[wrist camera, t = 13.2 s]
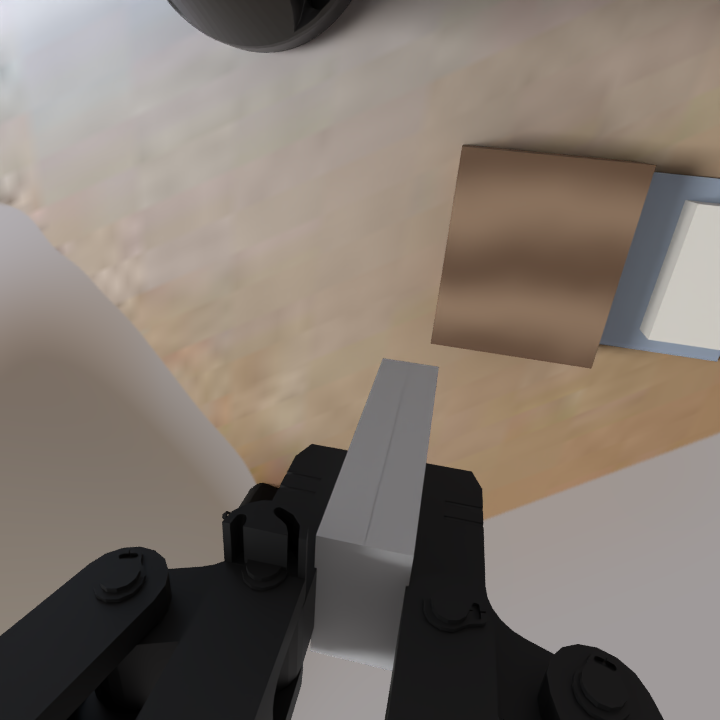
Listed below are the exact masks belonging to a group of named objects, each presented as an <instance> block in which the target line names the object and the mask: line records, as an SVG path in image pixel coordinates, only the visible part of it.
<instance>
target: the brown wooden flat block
mask: <svg viewBox="0 0 720 720" xmlns="http://www.w3.org/2000/svg"><path fill="white" fill-rule="evenodd" d="M655 168H656V165H651V164H645V163H640V162H634V161H623V160H613V159H603V158H593V157H582V156H572V155H562V154H552V153H541V152H531V151H521V150H511V149H501V148H490V147H480V146H470V145H463V146H462V151H461V158H460V164H459V170H458V176H457V183H456V189H455V195H454V201H453V208H452V214H451V220H450V226H449V233H448V239H447V245H446V251H445V258H444V264H443V270H442V277H441V283H440V289H439V295H438V302H437V308H436V314H435V320H434V327H433V333H432V339H431V344H437V345H444V346H450V347H457V348H463V349H469V350H476V351H482V352H489V353H495V354H502V355H508V356H514V357H521V358H527V359H534V360H540V361H547V362H553V363H559V364H566V365H572V366H579V367H585V368H592V365H593V362H594V359H595V356H596V352H597V349H598V346H599V343H600V340H601V337H602V334H603V330H604V327H605V324H606V321H607V318H608V315H609V312H610V309H611V305H612V302H613V299H614V296H615V293H616V290H617V287H618V284H619V280H620V277H621V274H622V271H623V268H624V265H625V262H626V259H627V255H628V252H629V249H630V246H631V243H632V240H633V237H634V233H635V230H636V227H637V224H638V221H639V218H640V215H641V212H642V208H643V205H644V202H645V199H646V196H647V193H648V190H649V187H650V183H651V180H652V177H653V174H654V171H655Z"/></svg>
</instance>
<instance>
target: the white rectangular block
mask: <svg viewBox="0 0 720 720" xmlns="http://www.w3.org/2000/svg"><path fill="white" fill-rule="evenodd" d="M640 331H641V332H642V333H643V334H644V335H645V336H646V338H647V339H648V340H654V341H661V342H668V343H675V344H681V345H688V346H695V347H702V348H709V349H715V350H720V204H718V203H709V202H700V201H691V200H685V203H684V205H683V208H682V211H681V214H680V217H679V219H678V222H677V225H676V228H675V231H674V233H673V236H672V239H671V242H670V245H669V247H668V250H667V253H666V256H665V259H664V262H663V264H662V267H661V270H660V273H659V276H658V278H657V281H656V284H655V287H654V290H653V292H652V295H651V298H650V301H649V304H648V306H647V309H646V312H645V315H644V318H643V320H642V323H641V326H640Z"/></svg>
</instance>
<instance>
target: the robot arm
mask: <svg viewBox="0 0 720 720" xmlns="http://www.w3.org/2000/svg"><path fill="white" fill-rule="evenodd" d="M167 1H168V2H169V4H170V5H171V6H172V7H173V8H174V9H175V10H176V11H177V12H178V13H179V14H180V15H181V16H182V17H183V18H184V19H185V20H186V21H187V22H189V23H190V24H191V25H192V26H194V27H195V28H197V29H198V30H199V31H201V32H202V33H204V34H206V35H207V36H209V37H211V38H213V39H215V40H217V41H220V42H222V43H225V44H228V45H230V46H233V47H236V48H239V49H242V50H247V51H251V52H262V53H269V52H279V51H284V50H288V49H292V48H295V47H297V46H300V45H302V44H304V43H306V42H308V41H310V40H312V39H313V38H315V37H316V36H318V35H319V34H321V33H322V32H323V31H324V30H326V29H327V28H328V27H329V26H330V25H331V24H332V23H333V22H334V21H335V20H336V19H337V18H338V17H339V16H340V15H341V14H342V12H343V11H344V10H345V9H346V7H347V6H348V4H349V3H350V1H351V0H167ZM438 368H439V367H437V366H430V365H424V364H417V363H410V362H404V361H397V360H391V359H384V358H383V360H382V362H381V365H380V368H379V370H378V373H377V376H376V378H375V381H374V384H373V386H372V389H371V391H370V394H369V397H368V399H367V402H366V405H365V407H364V410H363V413H362V415H361V418H360V420H359V423H358V426H357V428H356V431H355V434H354V436H353V439H352V442H351V444H350V447H349V450H348V451H347V450H342V449H337V448H331V447H326V446H320V445H315V444H311V445H310V446H309V447H307V448H306V449H304V450H303V451H302V452H300V453H299V454H298V455H296V456H295V458H294V460H293V462H292V464H291V466H290V468H289V470H288V471H287V475H285V477H284V479H283V481H282V483H281V485H280V488H278V490H277V492H276V494H275V496H274V498H273V500H272V501H269V500H261V501H257V502H252V503H247V504H245V505H243V506H241V507H239V508H238V509H236V510H234V511H232V512H231V513H230V514H229V515H228V516H227V517H226V519H225V520H224V521H223V522H222V525H223V542H224V559H225V561H224V562H220V563H217V564H215V565H209V566H203V567H192V568H178V569H177V568H176V569H168V568H167V564H166V561H165V559H164V558H163V557H162V556H161V555H160V554H158V553H157V552H156V551H154V550H151V549H147V548H143V547H130V548H121V549H118V550H116V551H112V552H109V553H107V554H104V555H103V556H101V557H100V558H98V559H97V560H95V561H93V562H92V563H90V564H89V565H87V566H86V567H85V568H84V569H82V570H81V571H80V572H79V573H78V574H76V575H75V576H74V577H73V578H71V579H70V580H69V581H68V582H66V583H65V584H64V585H63V586H61V587H60V588H59V589H58V590H56V591H55V592H54V593H53V594H52V595H50V596H49V597H48V598H47V599H45V600H44V601H43V602H42V603H41V604H39V605H38V606H37V607H36V608H35V609H33V610H32V611H31V612H29V613H28V614H27V615H26V616H25V617H23V618H22V619H21V620H19V621H18V622H17V623H16V624H15V625H13V626H12V627H11V628H10V629H8V630H7V631H6V632H5V633H3V634H2V635H1V636H0V720H291V717H292V714H293V711H294V707H295V704H296V700H297V697H298V694H299V690H300V687H301V682H302V673H303V661H304V658H305V655H306V651H307V648H308V645H309V642H310V639H311V648H310V651H313V652H317V653H321V654H325V655H329V656H333V657H337V658H342V659H346V660H350V661H353V662H358V663H362V664H366V665H370V666H374V667H378V668H382V669H386V670H390V671H392V678H391V685H390V691H389V697H388V703H387V709H386V715H385V720H664V719H663V717H662V715H661V714H660V712H659V710H658V708H657V706H656V704H655V702H654V701H653V699H652V697H651V695H650V693H649V692H648V690H647V689H646V688H645V686H644V685H643V684H642V682H641V681H640V679H639V678H638V677H637V675H636V674H635V673H634V672H633V671H632V670H631V669H629V668H628V667H627V666H626V665H625V664H624V663H622V662H621V661H620V660H619V659H618V658H616V657H614V656H612V655H610V654H608V653H607V652H605V651H602V650H600V649H598V648H596V647H590V646H585V645H580V644H576V645H571V646H566V647H562V648H561V649H560V650H559V651H558V652H556V653H555V654H553V653H551V652H549V651H547V650H545V649H543V648H541V647H540V646H538V645H536V644H534V643H532V642H530V641H528V640H526V639H525V638H523V637H522V636H520V635H518V634H517V633H515V632H514V631H512V630H511V629H510V628H509V627H508V626H507V625H506V624H505V623H504V622H503V621H501V619H500V618H499V617H498V615H497V614H496V613H495V611H494V610H493V609H492V606H491V604H490V602H489V600H488V598H487V593H486V587H485V559H484V529H483V511H482V509H483V499H482V488H481V486H480V485H479V483H478V481H477V480H476V478H475V476H474V475H473V473H472V472H471V471H466V470H460V469H455V468H449V467H444V466H438V465H433V464H427V463H426V459H427V451H428V444H429V436H430V429H431V421H432V414H433V406H434V398H435V391H436V383H437V376H438Z"/></svg>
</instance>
